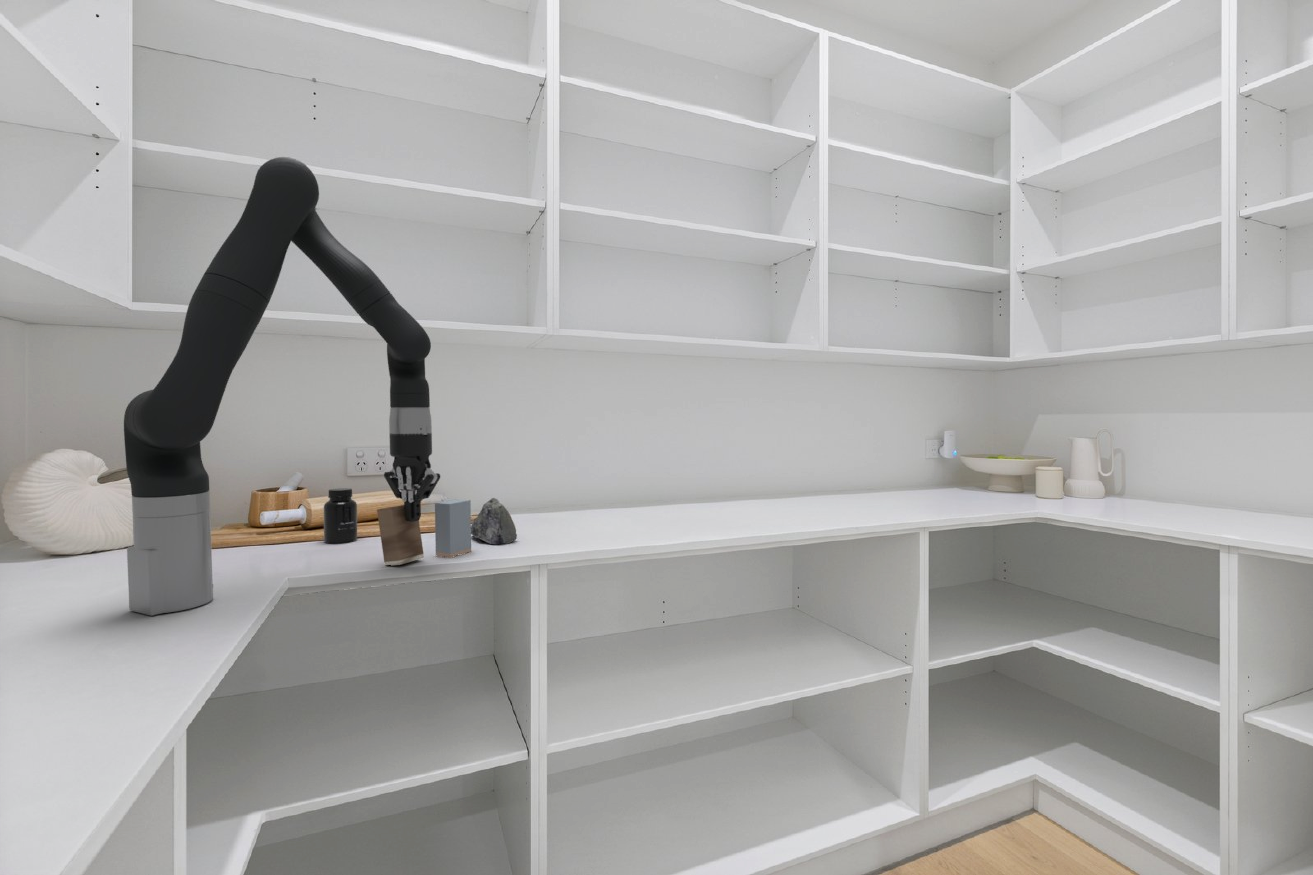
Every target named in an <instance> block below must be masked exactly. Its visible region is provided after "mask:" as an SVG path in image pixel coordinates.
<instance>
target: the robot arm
mask: <svg viewBox="0 0 1313 875" xmlns="http://www.w3.org/2000/svg"><path fill="white" fill-rule="evenodd" d="M319 198H320V188H319V184H318V181H317V178H316V176H315V174H314V173H313V171H312V169H311V168H309V167H308V166H307V165H306V164H305V163H303V162H302V161H301V160H298V159H296V158H292V157H287V156H280V157H275V158H271V159H269V160H267V161H266V162H264V163H263V164H262V165H261V166H260V167H259V168H258V169H257V172H256V174H255V178H254V182H253V186H252V189H251V192H250V195H249V196H248V200H247V202H246V205H245V208H244V209H243V212H242V213H241V216H240V218H239V220H238V222H237V223H236V225H235V227H234V228H233V230H231V232H230V233H229V235H228V236H227V237H226V239H225V241H224V242H223V243H222V245H220V246H221V247H219V249H218V251H217V252H216V254H215V255H214V257H213V259H212V260H211V262H210V263H209V265H208V267H207V268H206V270H205V272H204V273H203V275H202V277H201V279H200V281H199V282H198V284H197V286H196V288H195V290H194V292H193V294H192V296H191V299H190V301H189V304H188V305H187V306H188V307H187V309H186V313H185V317H184V324H183V329H182V334H181V340H180V342H179V347H178V349H177V351H176V354H175V356H174V357H173V360H172V362H171V363H170V364H169V366H168V367H167V369H166V370H165V372H164V374H163V376H162V377H161V379H160V380H159V381H158V383H157V384H156V386H155V387H154V388H153V389H150V390H146V391H143V392H142V393H141V392H140V393H139V394H138V395H136V396H135V397H133V398H132V400H130V401H129V403H128V404H127V407H126V408H125V410H124V417H123V436H124V450H125V465H126V468H125V469H126V472H127V477H128V480H129V482H130V483H129V484H130V491H131V499H132V500H131V503H132V504H131V506H132V531H133V532H132V535H133V538H132V539H133V546H132V545H131V546H128V547H127V549H126V557H127V558H126V559H127V561H126V562H127V579H128V580H127V581H128V582H127V583H128V604H129V611H132V612H135V613H139V614H143V615H146V616H157V615H160V614H167V613H173V612H180V611H184V610H189V609H193V608H197V607H200V606H204V605H206V604H208V603H210V602H212V601H213V600H214V584H213V582H214V581H213V559H212V558H213V555H212V554H213V553H212V529H211V526H212V525H211V498H210V497H211V496H210V494H211V493H210V477H209V476H210V475H209V474H208V472H207V470H206V469H205V466H204V462H203V460H202V459H203V458H202V450H201V442H202V440H204V439H206V437H207V436H208V435H209V433H210V432H211V431H212V428H213V426H214V424H215V422H216V421H215V420H216V417H217V415H218V411H219V409H220V405H221V402H222V400H223V398H224V397H223V396H224V393H225V391H226V388H227V385H228V383H229V380H230V377H231V375H232V374H233V371H234V369H235V367H236V365H237V364H238V362H239V360H240V358H241V357H242V355H243V353H244V352H245V350H246V348H247V346H248V344H249V342H250V341H251V339H252V336H253V334H254V333H255V331H256V329H257V327H258V326H259V324H260V322H261V320H262V317H263V315H264V314H265V311H266V309H267V307H268V305H269V303H270V301H271V298H272V296H273V294H274V291H275V289H276V286H277V283H278V280H279V278H280V274H281V272H282V268H283V264H284V262H285V258H286V255H287V252H288V250H289V246H291V245H290V244H291V242H292V243H293V244H294V245H295V246H296V247H297V248H298V249H299V250H300V251H301V252H302V253H303V254H304V255H305V256H307V258H308V259H309V260H310V261H311V262H312V263H313V264H314V265H315V266H316V267H317V268H318V269H319V270H320V271H321V273H323V275H324V276H326V278H327V279H328V280H329V281H330V282H331V283H332V285H333V286H334V287H335V288H336V289H337V291H338V292H339V293H340V294H341V295H342V297H343V298H344V299H345V300H346V301H347V303H348V304H349V305H350V306H351V308H352V309H353V310H354V311H355V313H356V314H357V315H358V316H359V317H360V318H361V319H362V321H364V322H365V324H367V325H368V326H371V327H373V329H374V330H375V331H376V332H377V333H378V334H379V335H380V337H381V338H382V339H383V340H384V342H385V343H386V357H387V366H388V373H389V374H388V375H389V378H390V381H389V384H390V385H389V402H390V405H389V409H390V410H389V418H388V419H389V420H388V422H389V424H388V427H389V429H388V430H389V455H390V456H391V457H393V462H392V468H391V469H390V471H385V472H384V473H383V477H384V479H385V480H386V482H387V484H388V485H389V486H388V487H389V488H390V490H391V491H392V493H393V495H394V496H395V498H396V499H400V500H401V501H402V502H403V505H404V512H405V513H404V516H405V519H406V521H409V522H414V521H419V522H420V520H421V517H422V516H421V514H422V513H421V509H422V508H421V507H422V504H421V503H422V501H423V500H425V499H429V498H430V496H431V494H432V493H433V491H434V490H435V488H436V486H437V484H438V482H440V479H441V474H440V473H435V472H434V471H433V470H432V469H431V468H432V464H431V462H430V456H432V454H433V438H432V437H433V432H432V415H431V409H430V408H431V407H430V406H431V405H430V403H431V402H430V385H429V382H428V380H427V377H426V362H425V361H426V358H427V357H428V356H429V353H430V352H431V350H432V349H431V346H432V345H431V344H432V343H431V339H430V337H429V335H428V334H427V333H428V332H426V330H425V329H424V328H423V326H422V325H421V324H420V323H419V322H418V321H417V319H415V318H414V317H413V315H411V314H410V312H408V311H407V310H406V309H405V308H404V307H403V306H402V305H401V304H399V302H398V301H397V300H396V298H395V296H393V294H392V293H391V291H390V290H389V289H388V287H387V286H386V285H385V284H384V283H383V281H382V280H381V279H380V277H379V276H378V275H377V274H376V273H375V272H374V271H373V270H372V269H371V268H370V267H369V266H368V265H367V264H366V263H365V262H364V261H363V260H362V259H360V258H359V257H358V256H356V255H355V254H354V253H352V252H351V251H350V250H348V249H347V248H346V247H345V246H344V245H343V244H342V243H341V242H340V241H338V239H337V238H336V237H335V236H334V235H333V234H332V233H331V231H330V230H329V229H328V228H327V226H326V225H325V223H324V222H323V221H322V219H321V217H320V216H319V214H318V212H317V211H316V206H317V205H318V202H319Z"/></svg>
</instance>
